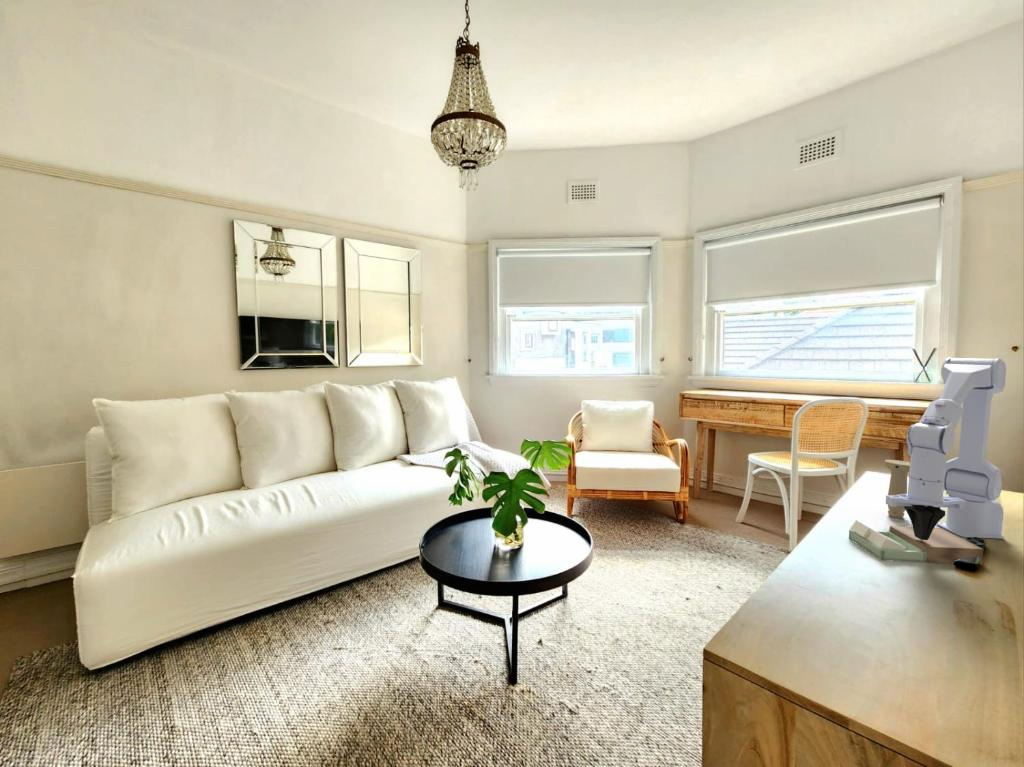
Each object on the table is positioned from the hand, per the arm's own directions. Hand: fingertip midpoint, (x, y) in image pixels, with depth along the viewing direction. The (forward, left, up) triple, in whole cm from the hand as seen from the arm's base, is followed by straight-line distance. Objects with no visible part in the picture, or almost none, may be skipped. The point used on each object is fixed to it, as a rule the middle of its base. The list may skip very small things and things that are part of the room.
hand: (921, 538), depth 100 cm
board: (-4, -2, -4) cm, 7 cm away
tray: (+6, -2, -4) cm, 7 cm away
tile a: (+7, -5, 0) cm, 9 cm away
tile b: (+7, 0, 0) cm, 7 cm away
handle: (-12, -24, -4) cm, 27 cm away
